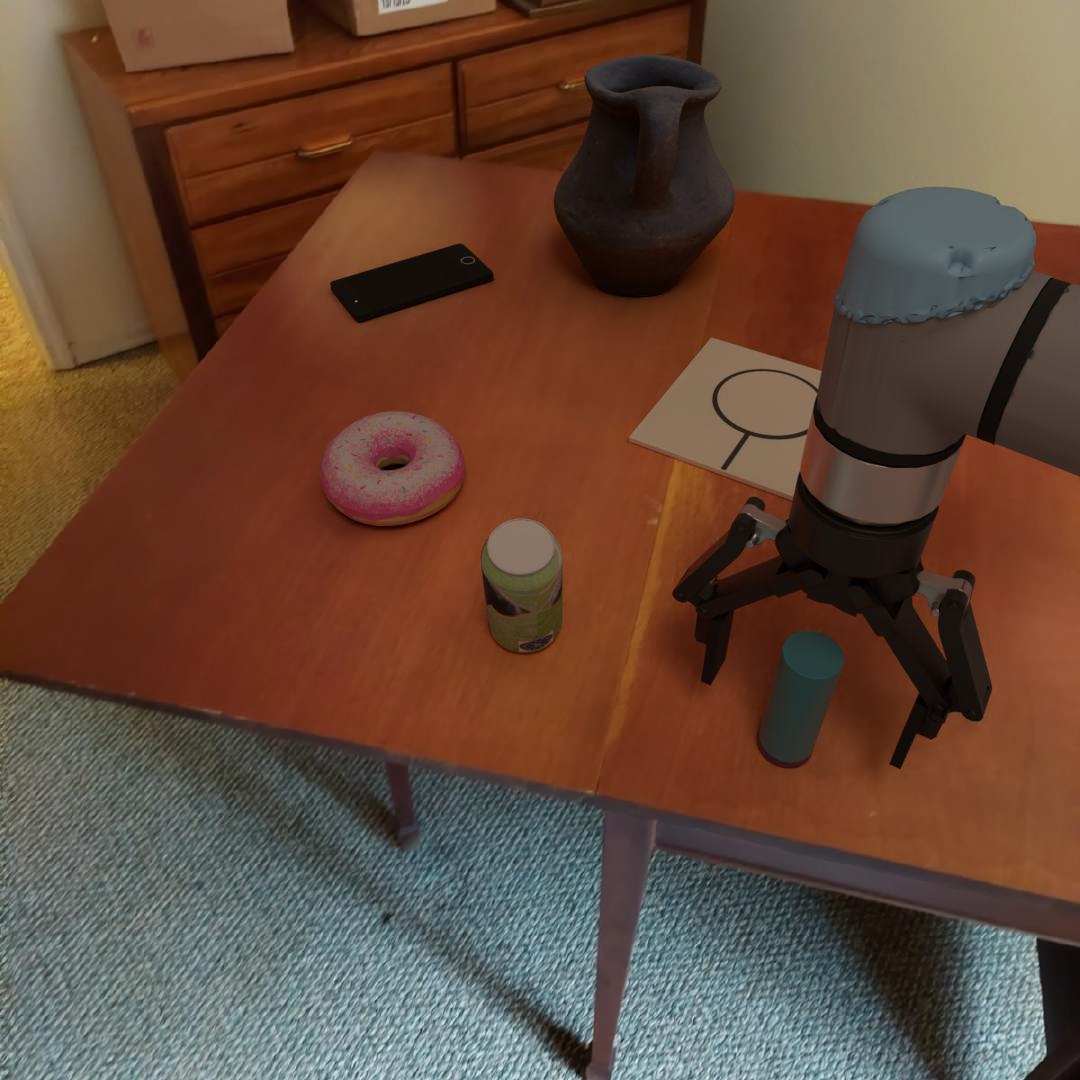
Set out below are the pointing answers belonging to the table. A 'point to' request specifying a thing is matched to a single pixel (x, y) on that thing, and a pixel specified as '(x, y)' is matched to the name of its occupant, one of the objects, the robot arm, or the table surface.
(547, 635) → the beverage can
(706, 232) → the pitcher
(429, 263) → the cell phone
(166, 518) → the table surface
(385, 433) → the donut
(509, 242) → the table surface
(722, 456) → the drawing sheet
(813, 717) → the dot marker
